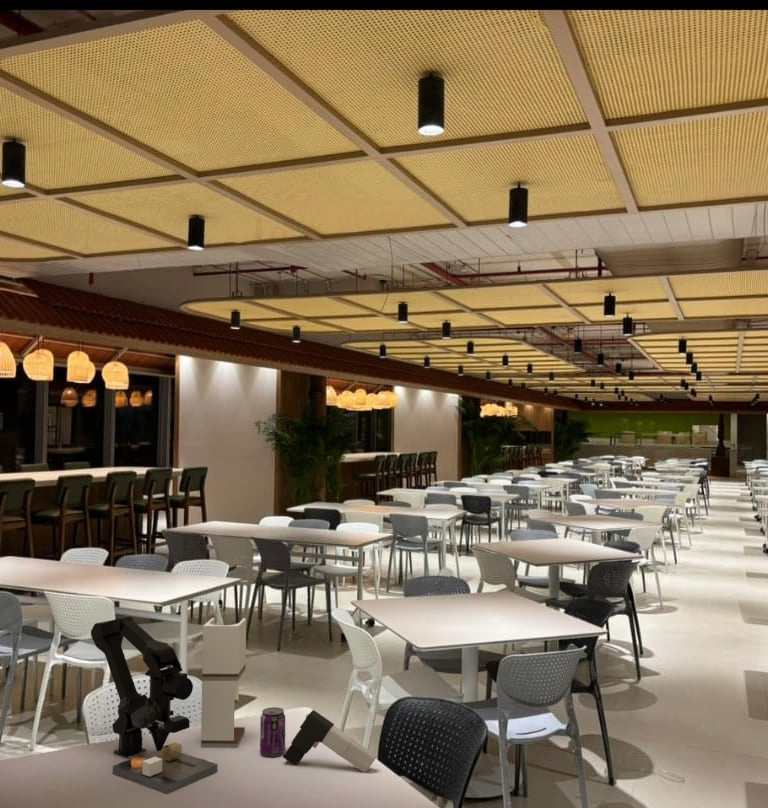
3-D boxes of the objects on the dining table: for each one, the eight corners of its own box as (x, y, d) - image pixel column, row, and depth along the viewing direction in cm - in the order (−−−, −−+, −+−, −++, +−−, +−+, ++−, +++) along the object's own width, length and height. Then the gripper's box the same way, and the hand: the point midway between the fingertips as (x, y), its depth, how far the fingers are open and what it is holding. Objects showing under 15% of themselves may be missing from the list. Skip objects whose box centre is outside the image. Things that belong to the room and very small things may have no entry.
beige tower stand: (237, 747, 231) (238, 626, 233) (200, 747, 231) (203, 625, 233) (244, 734, 242) (246, 618, 245) (210, 733, 243) (211, 618, 245)
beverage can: (280, 758, 223) (280, 715, 223) (256, 756, 224) (257, 713, 225) (288, 749, 230) (288, 707, 230) (265, 747, 231) (265, 705, 232)
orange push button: (127, 771, 212) (127, 760, 212) (139, 767, 216) (140, 755, 216) (137, 775, 210) (137, 763, 210) (149, 770, 213) (149, 758, 213)
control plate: (112, 773, 212) (112, 765, 212) (163, 754, 226) (163, 746, 226) (167, 793, 199) (167, 785, 200) (217, 771, 213) (217, 763, 213)
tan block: (162, 758, 216) (162, 746, 217) (174, 754, 220) (174, 742, 220) (170, 761, 215) (170, 748, 215) (181, 756, 218) (181, 744, 218)
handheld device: (286, 752, 222) (312, 706, 221) (352, 799, 217) (378, 753, 216) (281, 757, 218) (307, 711, 217) (348, 805, 213) (375, 758, 212)
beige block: (142, 773, 206) (142, 761, 206) (154, 768, 209) (154, 756, 209) (149, 776, 204) (150, 763, 204) (162, 771, 207) (162, 759, 208)
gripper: (114, 694, 220) (113, 752, 219) (159, 706, 209) (157, 767, 208) (147, 685, 229) (146, 740, 228) (191, 696, 219) (190, 754, 218)
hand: (158, 750), depth 220 cm, fingers closed
